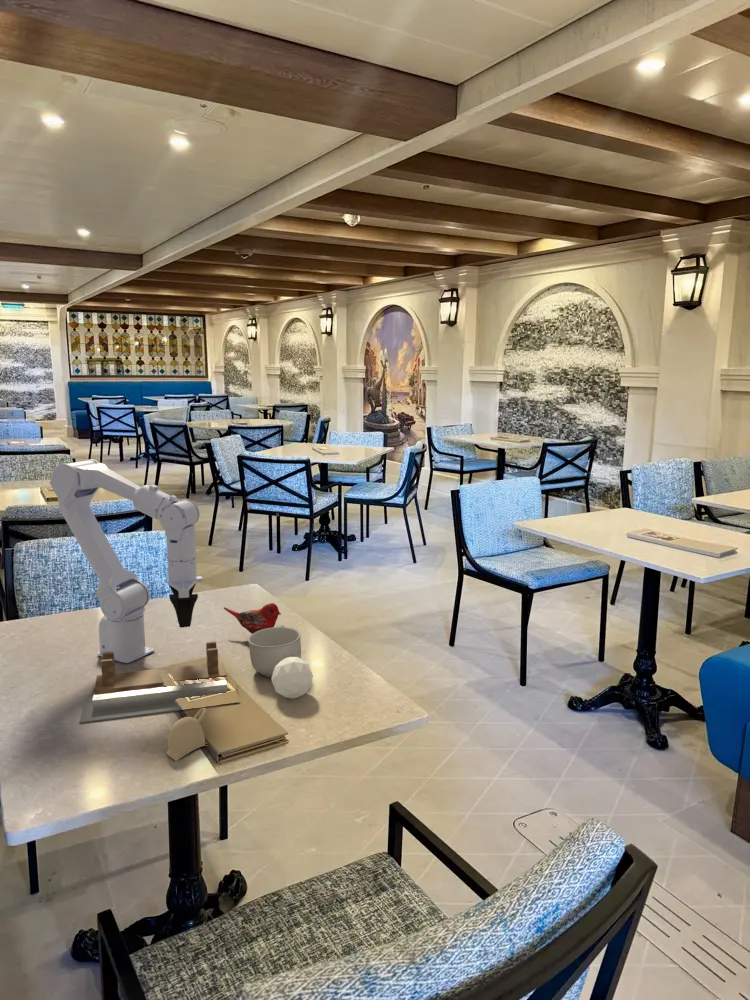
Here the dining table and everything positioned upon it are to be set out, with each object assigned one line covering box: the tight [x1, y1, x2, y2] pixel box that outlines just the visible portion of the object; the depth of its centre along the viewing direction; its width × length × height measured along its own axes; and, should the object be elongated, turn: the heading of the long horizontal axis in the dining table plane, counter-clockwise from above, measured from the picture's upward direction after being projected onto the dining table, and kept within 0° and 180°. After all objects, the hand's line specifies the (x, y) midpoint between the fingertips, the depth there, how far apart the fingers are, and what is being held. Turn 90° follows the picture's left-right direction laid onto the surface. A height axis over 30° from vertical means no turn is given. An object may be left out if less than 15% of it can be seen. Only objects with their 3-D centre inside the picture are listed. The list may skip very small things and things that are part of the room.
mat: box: [78, 698, 181, 724], centre depth 130 cm, size 28×9×1 cm, turn 107°
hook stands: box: [93, 640, 227, 695], centre depth 139 cm, size 25×7×6 cm, turn 107°
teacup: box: [247, 624, 302, 678], centre depth 145 cm, size 14×11×8 cm
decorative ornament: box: [166, 707, 207, 762], centre depth 114 cm, size 4×8×5 cm, turn 142°
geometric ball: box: [271, 657, 314, 699], centre depth 133 cm, size 8×8×8 cm
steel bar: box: [92, 680, 228, 712], centre depth 130 cm, size 24×2×2 cm, turn 107°
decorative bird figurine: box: [223, 602, 282, 635], centre depth 161 cm, size 3×18×10 cm, turn 58°
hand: (184, 620), depth 147 cm, fingers open, 7 cm apart
